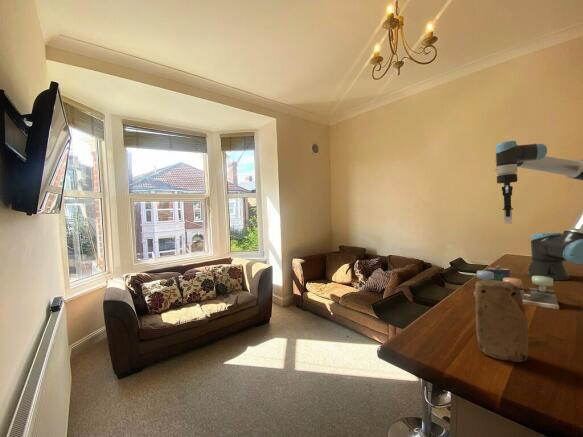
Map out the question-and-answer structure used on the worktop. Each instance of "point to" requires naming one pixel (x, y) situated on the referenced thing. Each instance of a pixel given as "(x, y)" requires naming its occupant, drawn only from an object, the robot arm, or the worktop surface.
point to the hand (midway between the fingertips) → (508, 223)
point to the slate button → (485, 275)
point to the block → (501, 321)
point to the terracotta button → (514, 281)
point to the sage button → (542, 282)
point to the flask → (499, 273)
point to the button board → (527, 301)
